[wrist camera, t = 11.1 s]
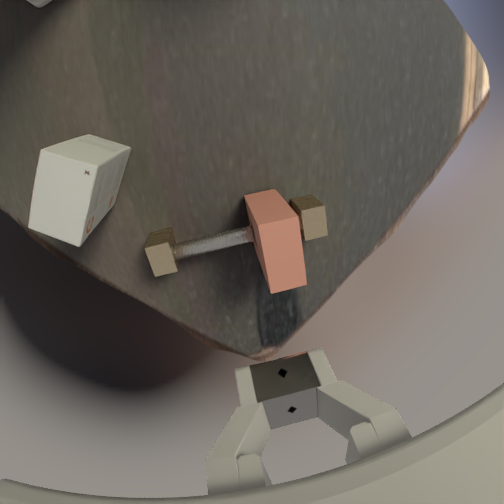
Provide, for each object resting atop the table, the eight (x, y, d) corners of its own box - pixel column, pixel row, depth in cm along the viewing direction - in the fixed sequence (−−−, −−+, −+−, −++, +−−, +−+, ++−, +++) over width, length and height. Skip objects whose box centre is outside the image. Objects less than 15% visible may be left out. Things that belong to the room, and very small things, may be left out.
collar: (255, 251, 42) (271, 293, 33) (243, 195, 39) (257, 225, 29) (283, 244, 43) (306, 284, 33) (274, 188, 39) (298, 216, 30)
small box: (88, 133, 32) (39, 147, 21) (132, 146, 34) (99, 165, 23) (73, 192, 35) (26, 229, 24) (114, 206, 37) (80, 249, 26)
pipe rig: (159, 259, 41) (155, 276, 37) (150, 232, 40) (144, 248, 35) (315, 221, 42) (327, 235, 38) (311, 194, 41) (324, 205, 36)
